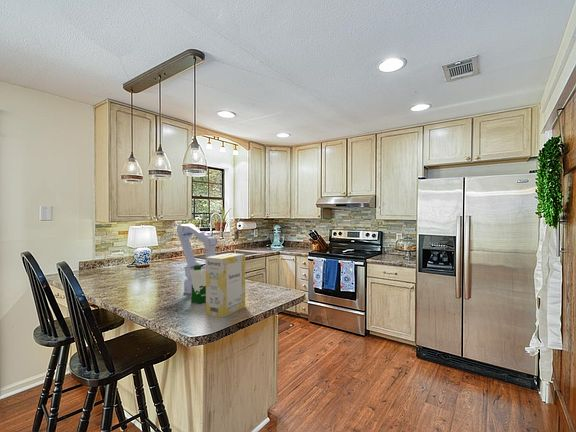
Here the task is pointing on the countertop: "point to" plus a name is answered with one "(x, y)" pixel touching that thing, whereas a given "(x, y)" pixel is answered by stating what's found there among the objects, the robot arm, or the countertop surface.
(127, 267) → the countertop surface
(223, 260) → the pasta box
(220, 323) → the countertop surface
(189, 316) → the countertop surface
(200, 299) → the soya milk
